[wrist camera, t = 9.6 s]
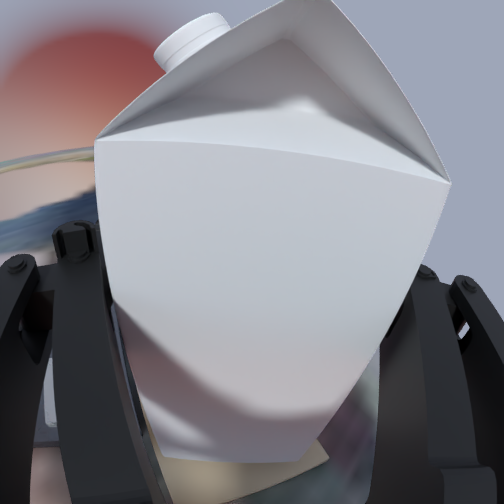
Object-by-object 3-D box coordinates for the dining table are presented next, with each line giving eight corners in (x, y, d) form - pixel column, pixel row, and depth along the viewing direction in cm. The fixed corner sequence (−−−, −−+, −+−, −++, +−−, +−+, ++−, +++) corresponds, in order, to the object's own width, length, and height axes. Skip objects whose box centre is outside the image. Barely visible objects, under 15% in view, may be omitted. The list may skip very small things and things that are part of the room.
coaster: (137, 387, 19) (135, 381, 19) (261, 357, 24) (262, 351, 23) (179, 515, 12) (178, 513, 12) (325, 461, 16) (329, 458, 16)
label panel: (33, 297, 24) (29, 287, 24) (113, 286, 28) (111, 275, 27) (25, 447, 13) (16, 439, 12) (142, 436, 16) (139, 428, 16)
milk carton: (285, 363, 19) (364, 33, 9) (298, 463, 13) (485, 14, 3) (176, 357, 19) (181, 7, 8) (162, 458, 13) (110, -62, 2)
